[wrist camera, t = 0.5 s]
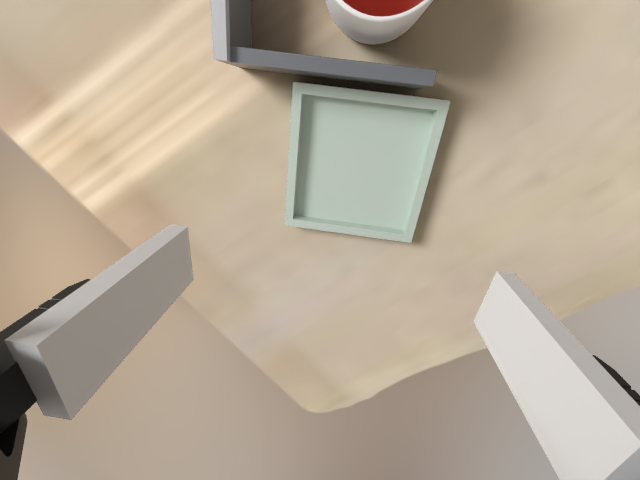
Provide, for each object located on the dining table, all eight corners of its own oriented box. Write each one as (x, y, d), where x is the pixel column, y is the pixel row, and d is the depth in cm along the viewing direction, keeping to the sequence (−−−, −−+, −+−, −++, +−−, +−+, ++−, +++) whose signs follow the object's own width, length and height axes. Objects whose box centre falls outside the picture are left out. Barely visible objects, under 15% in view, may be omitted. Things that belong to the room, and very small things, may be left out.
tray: (296, 83, 31) (292, 81, 29) (444, 100, 31) (450, 100, 29) (287, 219, 38) (284, 225, 36) (408, 236, 38) (411, 243, 36)
